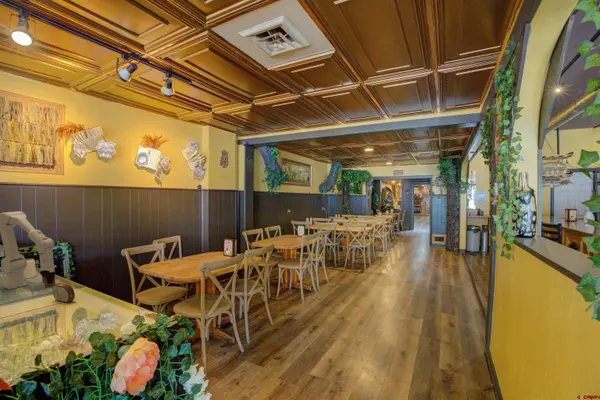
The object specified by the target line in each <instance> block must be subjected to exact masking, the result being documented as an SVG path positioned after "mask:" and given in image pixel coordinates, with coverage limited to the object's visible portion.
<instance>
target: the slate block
mask: <svg viewBox="0 0 600 400" xmlns="http://www.w3.org/2000/svg"><path fill="white" fill-rule="evenodd" d="M43 289H46V287H45V283H43V282H42V281H41V282H37V283H32V284H30V291H32V292H35V291H38V290H39V291H40V290H43Z"/></svg>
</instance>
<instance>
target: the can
mask: <svg viewBox="0 0 600 400" xmlns="http://www.w3.org/2000/svg"><path fill="white" fill-rule="evenodd" d="M25 260H26V261H27V266H26V267H25V270H24V279H25V280H27V279H28V278H29V279H33V278H35V277H36V276H37V270H36V261H35V259H34V258H33V257H32V258H30V257H29V258H25Z"/></svg>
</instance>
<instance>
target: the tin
mask: <svg viewBox="0 0 600 400" xmlns="http://www.w3.org/2000/svg"><path fill="white" fill-rule="evenodd" d="M51 292H52V297H53V298H54V300H56V301H58V302H61V303H62V302H63V303H69V302H72V301H74V300H75V298H76V297H75V296H76V294H75V293H76V292H75V290H74V288H73V286H72V285H71V284H68V283H62V282H59V283H55V285H52V287H51Z"/></svg>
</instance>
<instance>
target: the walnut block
mask: <svg viewBox="0 0 600 400" xmlns="http://www.w3.org/2000/svg"><path fill="white" fill-rule="evenodd" d="M41 282H43V283H45V288H47V287H51V286H52V287H53V285H55V284H56V276H54V281H53V283H51V284H48V283H47V279H46V277H45V276H43V277H42V276H41Z"/></svg>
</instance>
